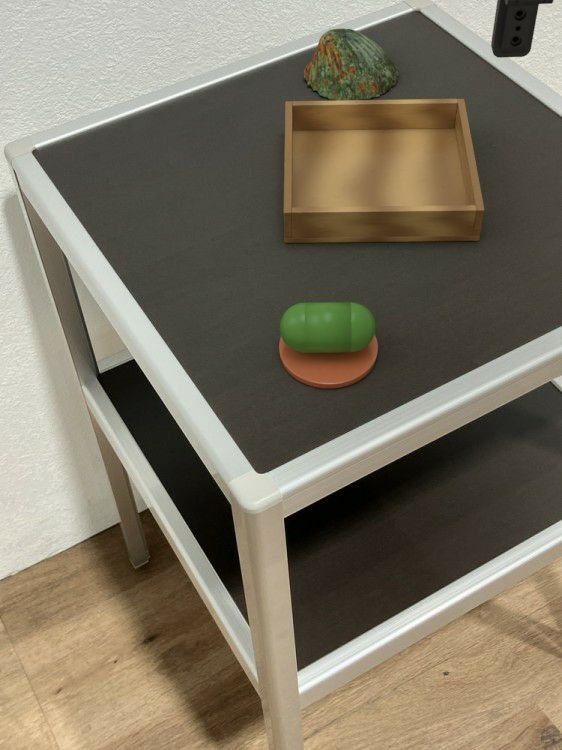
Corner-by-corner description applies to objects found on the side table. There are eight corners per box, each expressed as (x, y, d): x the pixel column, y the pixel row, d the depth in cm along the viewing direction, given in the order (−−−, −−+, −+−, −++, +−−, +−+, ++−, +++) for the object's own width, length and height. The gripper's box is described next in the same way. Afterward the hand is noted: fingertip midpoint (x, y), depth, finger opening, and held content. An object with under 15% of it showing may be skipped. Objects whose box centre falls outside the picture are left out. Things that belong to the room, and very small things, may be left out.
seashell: (329, 74, 96) (290, 25, 102) (326, 110, 99) (287, 60, 105) (418, 57, 99) (374, 11, 105) (412, 93, 102) (370, 46, 108)
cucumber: (373, 328, 79) (375, 291, 76) (375, 362, 76) (378, 325, 74) (280, 329, 80) (279, 292, 77) (279, 363, 77) (278, 326, 74)
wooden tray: (459, 129, 97) (464, 98, 94) (479, 241, 86) (484, 210, 83) (286, 131, 97) (285, 101, 94) (284, 243, 87) (283, 212, 84)
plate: (375, 314, 81) (375, 309, 80) (380, 388, 76) (380, 383, 75) (279, 314, 81) (279, 310, 81) (278, 389, 76) (278, 384, 76)
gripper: (658, -243, 42) (583, 80, 55) (592, -339, 52) (541, -43, 64) (486, -236, 43) (450, 84, 55) (451, -333, 52) (427, -39, 64)
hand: (499, 15), depth 60 cm, fingers open, 8 cm apart
